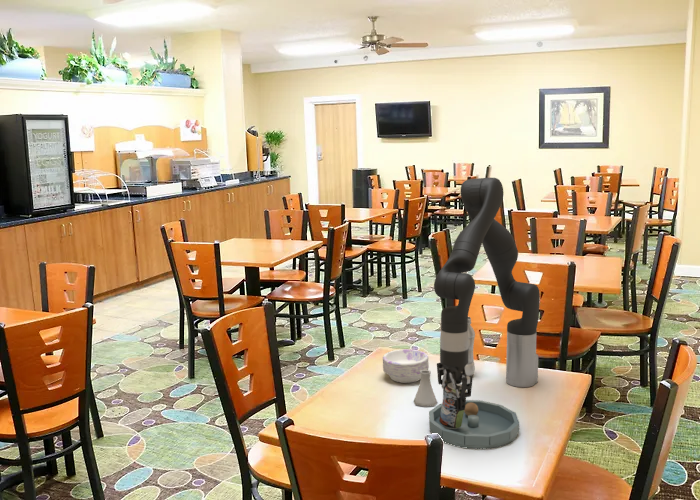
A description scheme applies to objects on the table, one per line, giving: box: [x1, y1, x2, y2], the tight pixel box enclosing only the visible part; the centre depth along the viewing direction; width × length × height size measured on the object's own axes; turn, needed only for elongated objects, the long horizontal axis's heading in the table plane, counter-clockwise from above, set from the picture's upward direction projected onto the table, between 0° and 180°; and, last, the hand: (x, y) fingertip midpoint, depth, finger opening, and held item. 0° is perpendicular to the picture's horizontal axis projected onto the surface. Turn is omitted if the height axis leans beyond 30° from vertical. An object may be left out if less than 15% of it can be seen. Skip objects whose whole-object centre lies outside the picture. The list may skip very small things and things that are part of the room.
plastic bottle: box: [465, 316, 476, 377], centre depth 226 cm, size 6×7×20 cm
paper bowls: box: [382, 348, 429, 384], centre depth 226 cm, size 15×15×8 cm
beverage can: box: [439, 383, 467, 429], centre depth 183 cm, size 6×7×12 cm
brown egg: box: [464, 402, 478, 416], centre depth 192 cm, size 4×4×4 cm
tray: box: [428, 399, 520, 450], centre depth 186 cm, size 24×24×4 cm
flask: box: [413, 369, 438, 408], centre depth 204 cm, size 7×7×10 cm
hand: (453, 405), depth 183 cm, fingers closed on beverage can, 6 cm apart
